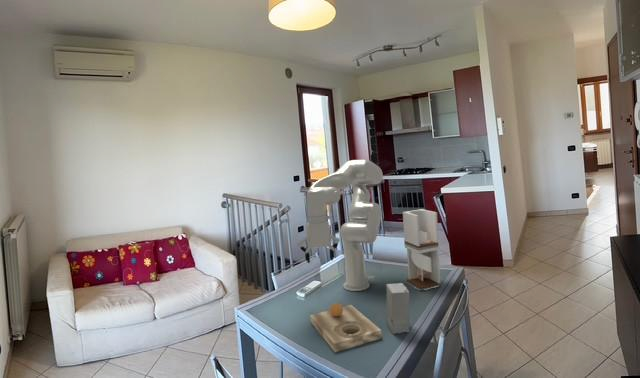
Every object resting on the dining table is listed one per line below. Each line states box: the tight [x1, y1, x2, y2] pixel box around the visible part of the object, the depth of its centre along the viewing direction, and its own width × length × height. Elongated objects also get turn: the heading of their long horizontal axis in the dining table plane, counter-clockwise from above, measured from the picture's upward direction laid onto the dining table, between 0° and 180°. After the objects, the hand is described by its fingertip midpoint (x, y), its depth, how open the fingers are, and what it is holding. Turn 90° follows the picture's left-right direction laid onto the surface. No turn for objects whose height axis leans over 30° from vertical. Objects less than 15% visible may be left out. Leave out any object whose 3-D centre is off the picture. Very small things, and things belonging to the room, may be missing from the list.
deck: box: [309, 304, 383, 353], centre depth 136 cm, size 18×24×3 cm
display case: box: [402, 208, 441, 290], centre depth 169 cm, size 11×11×35 cm
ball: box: [329, 302, 344, 316], centre depth 141 cm, size 5×5×5 cm
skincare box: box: [385, 282, 410, 335], centre depth 133 cm, size 8×7×16 cm
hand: (320, 260), depth 149 cm, fingers open, 9 cm apart
